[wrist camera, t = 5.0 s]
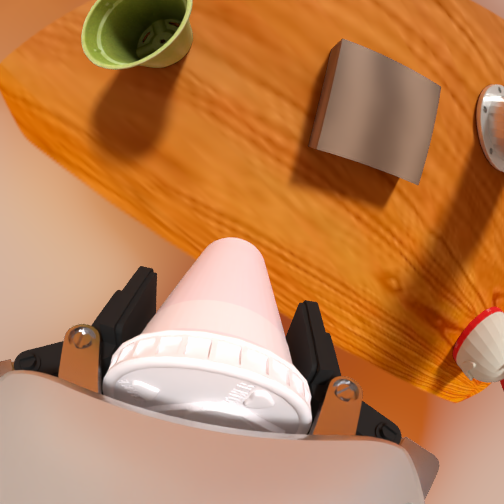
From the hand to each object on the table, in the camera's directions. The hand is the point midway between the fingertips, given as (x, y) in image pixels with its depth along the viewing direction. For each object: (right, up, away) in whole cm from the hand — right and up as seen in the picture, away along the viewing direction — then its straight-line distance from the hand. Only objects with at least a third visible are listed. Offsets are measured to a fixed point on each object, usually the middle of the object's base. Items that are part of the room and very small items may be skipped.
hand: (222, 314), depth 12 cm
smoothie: (0, +2, +4) cm, 4 cm away
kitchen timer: (+46, -14, +26) cm, 55 cm away
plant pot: (-8, +24, +9) cm, 27 cm away
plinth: (+13, +17, +12) cm, 24 cm away
